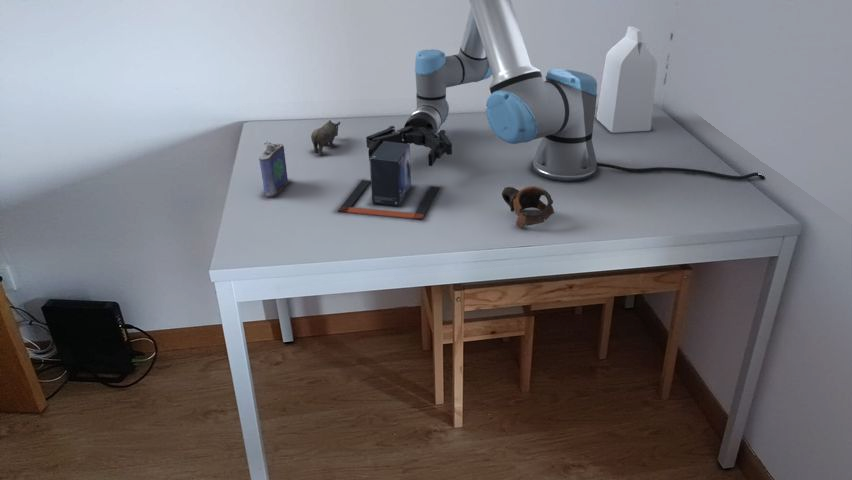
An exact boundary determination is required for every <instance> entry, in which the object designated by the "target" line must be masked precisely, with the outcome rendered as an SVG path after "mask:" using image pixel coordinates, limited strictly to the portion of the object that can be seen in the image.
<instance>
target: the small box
mask: <svg viewBox="0 0 852 480" xmlns="http://www.w3.org/2000/svg"><path fill="white" fill-rule="evenodd" d="M411 166H412V165H411V144H409V143H408V144H405V143H396V142H387V141H383V143H382V144H381V145H380V146H379V147H378V149H377V150H376V151H375V152H374V153H373V155H372V156H371V157H370V161H369V171H370V172H369V173H370V174H369V175H370V181H371V182H370V186H371V187H370V188H371V189H370V190H371V204H374V205H383V206H384V205H385V206H394V207H399V206H400V205H401V204H402V203H403V201H404V199H405V198H406V196H407V195H408V193H409V192H410V190H411V188H412V169H411Z"/></svg>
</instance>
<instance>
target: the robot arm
mask: <svg viewBox="0 0 852 480" xmlns="http://www.w3.org/2000/svg"><path fill="white" fill-rule="evenodd" d="M468 3H469V5H470V8H469V12H468V16H467V20H466V24H465V28H464V33H463V36H462V41H461V45H460V47H459V52H458V54H452V55H447V56H446V53H445V52H444V51H442V50H439V49H434V48H433V49H431V48H430V49H422V50H419V51H418V52H417V53H416V55H415V61H414V62H415V63H414V72H415V86H416V93H415V94H416V99H415V100H416V109H415V110H414V111H413V112H412V114H411V115H410V117H409V118H408V119H407V120H406V122H405V124H404V126H403V127H401V128H400V129H396V127H395V126H394V125H390V126H388V128H385V129H383V130H381V131H377V132H375V133H372V134H370V135H368V136H366V137H365V141H366V148H367V149H368V151H367V152H368V161H369V162H370V157H371V156H372V155H373V153H374V152H375V151H376V150H377V149H378V147H379V146H380V145H381V144H382V143H383V141H387V142H396V143H405V144H410V145H411V144H413V145H415V146H423V147H425V148H429V149H430V151H429V153H428V154H427V155H428V156H427V158H428V159H427V160H428V167H433V166H434V164H435V162H436V160H437V159H441V158H442V156H443V155H445V154H446V155H449V156H451V155H453V143H452V141H451V140H450V139H449V138H448V136H447V134H446V130H445V129H441V127H442V125H443V124H444V123H445V122H446V120H447V118H448V116H449V112H450V105H449V103H448V100H447V88H452V87H457V86H460V85H466V84H470V83H478V82H481V81H484V80H487V79H489V78H491V77H492V80H491V83H490V85H489V86H488V88H489V91H490V95H489V96H488V98H487V99H486V103H485V106H486V108H485V116H486V120H487V122H488V125H489V127H490V129H491V130H492V132H493V133H494V135H496V137H497V138H498V139H500V140H502V141H503V142H505V143H506V144H510V145H517V144H523V143H524V144H526V143H529V142H532V141H534V140H538V139H541V140H540V142H539V144H538V146H537V149H536V152H535V155H534V156H533V160H532V169H533V171H534V172H535V173H536V174H538V175H539V176H540V177H543V178H546V179H549V180H553V181H559V182H579V181H584V180H589V179H590V178H592V177H594V176H595V175H596V173H597V170H598V169H597V167H602V168H609V169H614V170H618V171H623V172H631V173H643V172H644V173H645V172H660V171H661V172H663V171H665V172H681V173H682V172H684V173H693V174H700V175H701V174H702V175H708V176H713V177H717V178H723V179H729V180H746V179H749V178H753V177H759V178H760V179H762V180H766V177H765V176H764V175H763V174H762V175H763V176H762V175H758V173H759V172H751V173H748V174H744V175H731V174H725V173H720V172H715V171H709V170H703V169H694V168H686V167H685V168H684V167H670V166H669V167H668V166H665V167H664V166H657V167H655V166H654V167H640V168H639V167H638V168H634V167H633V168H631V167H625V166H621V165H620V166H619V165H615V164H610V163H603V162H598V161H597V157H596V153H595V148H594V144H593V133H594V132H593V131H594V124H595V115H596V107H597V99H598V82H597V79H596V78H595V77H594V76H592V75H591V74H588V73H586V72H581V71H578V70H572V69H564V68H554V69H549V70H547V72H546V75H545V76H544V77H545V80H544V79H543V75H542V71H541V69H539V68H537V67H535V66H533V65H532V63H531V59H530V57H529V53H528V50H527V47H526V43H525V41H524V37H523V35H522V31H521V28H520V25H519V21H518V19H517V14H516V11H515V8H514V6H513V2H512V0H468Z"/></svg>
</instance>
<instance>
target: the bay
mask: <svg viewBox="0 0 852 480" xmlns="http://www.w3.org/2000/svg"><path fill="white" fill-rule="evenodd" d="M370 184H371V180H367V179H366V180H365V179H362V180H361V181H360V182H359V184H358V185H357V186H356V187H355V188H354V189H353V190H352V192H351V193H350V195H349V196H348V198H346V200H345V201H344V202H343V204H342V205H341V206H340V207H339V209H338V210H337V212H338V213H345V214H347V213H348V214H355V215H356V214H358V215H359V214H360V215H368V216H379V217H389V218H399V219H409V220H420V221H423V219H424V218H425V215H426V213H427V212H428V210H429V208H430V207H431V205H432V203H433V201H434V199H435V197H436V196H437V194H438V192H439V190H440V186H434V185H432V186H431V185H430V187H429V189H428V190H427V192H426V193H425V196H424V197H423V198H422V201H421V203H420V204H419V206H418V208H417V210H416V211H415V213H414V212H402V211H393V210H382V209H372V208H370V209H369V208H363V207H361V208H360V207H353V206H354V204H355V203H356V202H357V200H359V198H360V197H361V195H363V193H364V191H366V189H367V188H368V187H369V185H370Z"/></svg>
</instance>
